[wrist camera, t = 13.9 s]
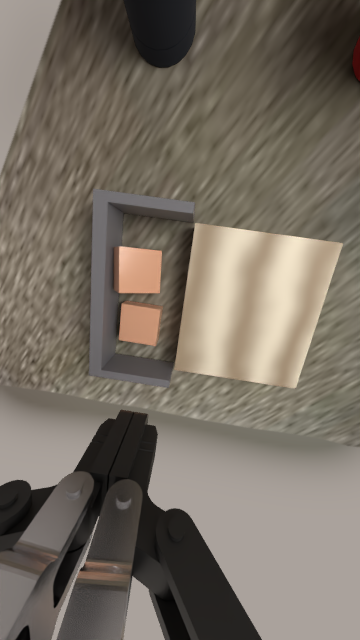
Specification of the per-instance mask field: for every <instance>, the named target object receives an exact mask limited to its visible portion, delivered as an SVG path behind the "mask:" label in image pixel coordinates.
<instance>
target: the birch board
mask: <svg viewBox="0 0 360 640" xmlns="http://www.w3.org/2000/svg"><path fill="white" fill-rule="evenodd" d="M342 245H343V243H337V242H330V241H322V240H315V239H308V238H301V237H293V236H286V235H279V234H272V233H264V232H257V231H250V230H243V229H235V228H228V227H221V226H213V225H206V224H199V223H195V229H194V236H193V243H192V250H191V257H190V264H189V271H188V278H187V285H186V292H185V298H184V305H183V312H182V319H181V326H180V333H179V340H178V347H177V354H176V361H175V368H174V370H179V371H186V372H192V373H199V374H205V375H211V376H218V377H224V378H231V379H237V380H244V381H250V382H256V383H263V384H269V385H276V386H282V387H289V388H295V389H296V386H297V383H298V380H299V377H300V374H301V370H302V367H303V364H304V361H305V358H306V355H307V352H308V349H309V346H310V343H311V340H312V337H313V334H314V331H315V328H316V325H317V321H318V318H319V315H320V312H321V309H322V306H323V303H324V300H325V297H326V294H327V291H328V288H329V285H330V282H331V279H332V276H333V273H334V269H335V266H336V263H337V260H338V257H339V254H340V251H341V248H342Z"/></svg>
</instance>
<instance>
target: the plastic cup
mask: <svg viewBox="0 0 360 640" xmlns="http://www.w3.org/2000/svg"><path fill="white" fill-rule="evenodd" d="M352 65H353V69H354V73H355V76H356V78H357V79H358V80H359V81H360V36H359V39H358V41H357V44H356V46H355V48H354V53H353V63H352Z"/></svg>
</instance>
